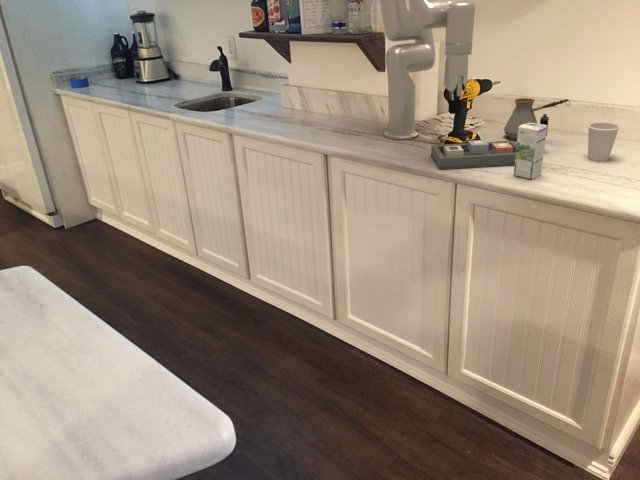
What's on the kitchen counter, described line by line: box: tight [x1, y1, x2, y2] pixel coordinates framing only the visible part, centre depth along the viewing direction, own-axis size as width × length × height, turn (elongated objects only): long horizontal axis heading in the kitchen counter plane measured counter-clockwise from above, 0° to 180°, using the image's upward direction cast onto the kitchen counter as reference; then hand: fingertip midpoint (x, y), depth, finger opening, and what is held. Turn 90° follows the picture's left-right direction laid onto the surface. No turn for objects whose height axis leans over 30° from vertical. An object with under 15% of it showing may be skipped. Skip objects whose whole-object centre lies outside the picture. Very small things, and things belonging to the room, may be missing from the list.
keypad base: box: [430, 140, 517, 171], centre depth 167 cm, size 14×26×4 cm, turn 90°
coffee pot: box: [503, 97, 571, 141], centre depth 179 cm, size 21×12×15 cm, turn 38°
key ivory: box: [443, 145, 464, 157], centre depth 166 cm, size 5×5×2 cm
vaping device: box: [539, 113, 549, 148], centre depth 169 cm, size 3×5×12 cm, turn 53°
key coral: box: [491, 143, 513, 154], centre depth 166 cm, size 5×5×2 cm
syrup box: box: [513, 123, 548, 181], centre depth 150 cm, size 6×6×14 cm
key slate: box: [467, 139, 489, 153], centre depth 166 cm, size 5×5×2 cm
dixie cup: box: [587, 121, 621, 162], centre depth 160 cm, size 8×8×10 cm
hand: (454, 112), depth 162 cm, fingers closed
